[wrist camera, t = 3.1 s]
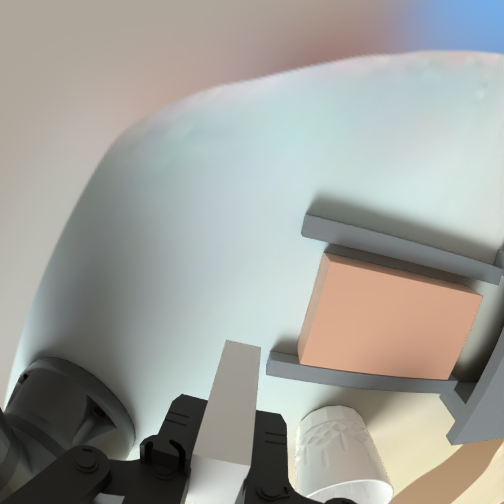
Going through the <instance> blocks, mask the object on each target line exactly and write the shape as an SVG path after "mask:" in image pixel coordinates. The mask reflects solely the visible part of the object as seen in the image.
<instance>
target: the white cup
mask: <svg viewBox="0 0 504 504" xmlns="http://www.w3.org/2000/svg"><path fill="white" fill-rule="evenodd" d="M295 491H296V492H298V493H299V494H300V495H302V496H304V497H307V498H309V499H312V500H316V501H319V502H322V503H325V502H326V501H327V500H330V499H332V498H342V497H343V498H347V499H351V500H353V501H354V502H356V503H357V504H388V503H389V502H390V500H391V499H392V497H393V494H394V489H393V486H392V484H391V482H390V479H389V477H388V474H387V472H386V470H385V467H384V465H383V462H382V460H381V457H380V455H379V453H378V450H377V448H376V446H375V444H374V442H373V440H372V437H371V436H370V434H369V432H368V431H367V429H366V426H365V424H364V421H363V419H362V417H361V416H360V415H359V414H358V413H357V412H356V411H355V410H354V409H353V408H349V407H345V406H341V405H338V406H326V407H323V408H321V409H318V410H316V411H313V412H311V413H309V414H308V415H307V416H306V417H305V418H304V419H303V420H302V421H300V423H299V426H298V428H297V431H296V452H295Z"/></svg>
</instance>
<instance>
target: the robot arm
mask: <svg viewBox="0 0 504 504" xmlns="http://www.w3.org/2000/svg"><path fill="white" fill-rule="evenodd" d="M260 353H261V347H257V346H252V345H247V344H243V343H238V342H234V341H229V340H226V342H225V345H224V349H223V352H222V356H221V359H220V362H219V366H218V369H217V372H216V376H215V379H214V383H213V386H212V389H211V393H210V396H209V399H208V400H204V399H200V398H196V397H192V396H188V395H184V394H181V395H180V396H179V397H177V398H176V399H175V400H173V401H172V404H171V406H170V408H169V410H168V413H167V415H166V417H165V420H164V421H163V424H162V426H161V428H160V430H159V433H158V435H152V436H150V437H148V438H145V439H144V440H143V441H142V443H141V444H140V459H137V460H133V461H125V460H126V459H127V457H128V455H129V453H130V451H131V449H132V447H133V445H134V441H135V432H134V428H133V424H132V422H131V419H130V417H129V415H128V414H127V412H126V410H125V409H124V407H123V406H122V404H121V403H120V402H119V400H118V399H117V398H116V397H115V396H114V394H113V393H112V392H111V391H110V390H109V389H108V388H107V387H106V386H105V385H103V384H102V383H101V382H100V381H99V380H98V379H96V378H95V377H94V376H92V375H91V374H90V373H88V372H87V371H85V370H84V369H82V368H80V367H78V366H76V365H74V364H72V363H70V362H68V361H65V360H62V359H58V358H51V357H47V358H41V359H38V360H36V361H35V362H33V363H32V364H31V365H30V366H29V367H28V368H26V369H25V370H24V371H23V373H22V374H21V375H20V377H19V379H18V382H17V384H16V386H15V388H14V390H13V393H12V395H11V397H10V399H9V402H8V404H7V407H6V409H5V411H4V413H3V412H2V410H1V408H0V504H185V502H188V503H192V504H357V503H356V502H354V501H353V500H351V499H347V498H343V497H342V498H332V499H330V500H327V501H326V502H325V503H322V502H319V501H316V500H312V499H309V498H307V497H304V496H302V495H300V494H299V493H298V492H296V491H295V490H294V489H293V488H292V486H291V484H290V482H289V479H288V453H287V424H286V423H285V421H284V419H283V418H282V416H281V414H277V413H271V412H265V411H259V410H256V401H257V390H258V378H259V365H260Z"/></svg>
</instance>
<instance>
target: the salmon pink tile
mask: <svg viewBox="0 0 504 504" xmlns="http://www.w3.org/2000/svg"><path fill="white" fill-rule="evenodd" d="M482 298H483V296H482V295H480V294H478V293H477V292H475V291H473V290H472V289H470V288H468V287H467V286H465V285H461V284H457V283H453V282H449V281H445V280H440V279H436V278H432V277H428V276H424V275H420V274H416V273H411V272H407V271H403V270H399V269H395V268H390V267H386V266H382V265H377V264H373V263H369V262H365V261H360V260H356V259H352V258H347V257H343V256H339V255H334V254H330V253H325V252H323V255H322V259H321V263H320V266H319V270H318V274H317V277H316V281H315V285H314V288H313V292H312V295H311V299H310V303H309V306H308V309H307V313H306V316H305V320H304V323H303V326H302V330H301V333H300V336H299V340H298V343H297V349H298V355H299V362H300V364H304V365H310V366H316V367H323V368H330V369H337V370H344V371H352V372H360V373H369V374H378V375H388V376H398V377H410V378H424V379H442V380H448V378H449V376H450V374H451V372H452V370H453V367H454V365H455V363H456V361H457V359H458V357H459V355H460V353H461V350H462V348H463V346H464V344H465V341H466V339H467V337H468V334H469V332H470V329H471V327H472V324H473V322H474V319H475V317H476V314H477V311H478V309H479V306H480V303H481V301H482Z"/></svg>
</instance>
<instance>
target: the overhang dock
mask: <svg viewBox="0 0 504 504" xmlns="http://www.w3.org/2000/svg"><path fill="white" fill-rule="evenodd" d="M301 234H302V236H303V237H307V238H311V239H316V240H320V241H324V242H329V243H333V244H337V245H342V246H346V247H350V248H354V249H358V250H363V251H367V252H371V253H375V254H379V255H383V256H387V257H391V258H395V259H399V260H403V261H407V262H411V263H415V264H419V265H423V266H427V267H431V268H435V269H439V270H443V271H447V272H450V273H454V274H458V275H462V276H466V277H469V278H473V279H477V280H480V281H484V282H488V283H492V284H495V285H499V282H500V279H501V276H502V275H503V276H504V252H503V251H500V250H498V254H497V257H496V261H495V264H494V265H491V264H488V263H485V262H482V261H479V260H475V259H472V258H469V257H466V256H462V255H459V254H456V253H452V252H449V251H446V250H442V249H439V248H435V247H432V246H428V245H425V244H421V243H418V242H414V241H411V240H407V239H404V238H400V237H396V236H393V235H389V234H385V233H381V232H378V231H374V230H370V229H366V228H362V227H358V226H354V225H350V224H346V223H342V222H338V221H334V220H330V219H326V218H322V217H318V216H314V215H309V214H305V218H304V222H303V226H302V230H301ZM266 375H269V376H275V377H281V378H287V379H293V380H299V381H305V382H312V383H319V384H326V385H334V386H342V387H351V388H361V389H371V390H383V391H397V392H414V393H442V394H441V395H440V399H441V400H442V402H443V403H444V405H445V406H446V407H447V409H448V410H449V412H450V413H451V415H452V416H453V418H454V419H455V423H454V424H453V426H452V427H451V429H450V431H449V432H448V434H447V435H446V437H447V439H448V440H449V442H450V444H451V445H459V444H466V443H474V442H480V441H487V440H493V439H498V438H503V437H504V328H503V330H502V332H501V335H500V337H499V340H498V342H497V344H496V346H495V349H494V351H493V353H492V355H491V357H490V359H489V362H488V364H487V366H486V368H485V370H484V372H483V374H482V376H481V378H480V380H479V381H478V383H475V382H458V380H457V379H456V378H455V377H454V376H453V374H450V376H449V378H448V380H442V379H424V378H410V377H398V376H388V375H378V374H369V373H360V372H352V371H344V370H337V369H330V368H323V367H316V366H310V365H304V364H300V362H299V356H296V355H291V354H285V353H280V352H274V351H270V354H269V358H268V361H267V365H266Z"/></svg>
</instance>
